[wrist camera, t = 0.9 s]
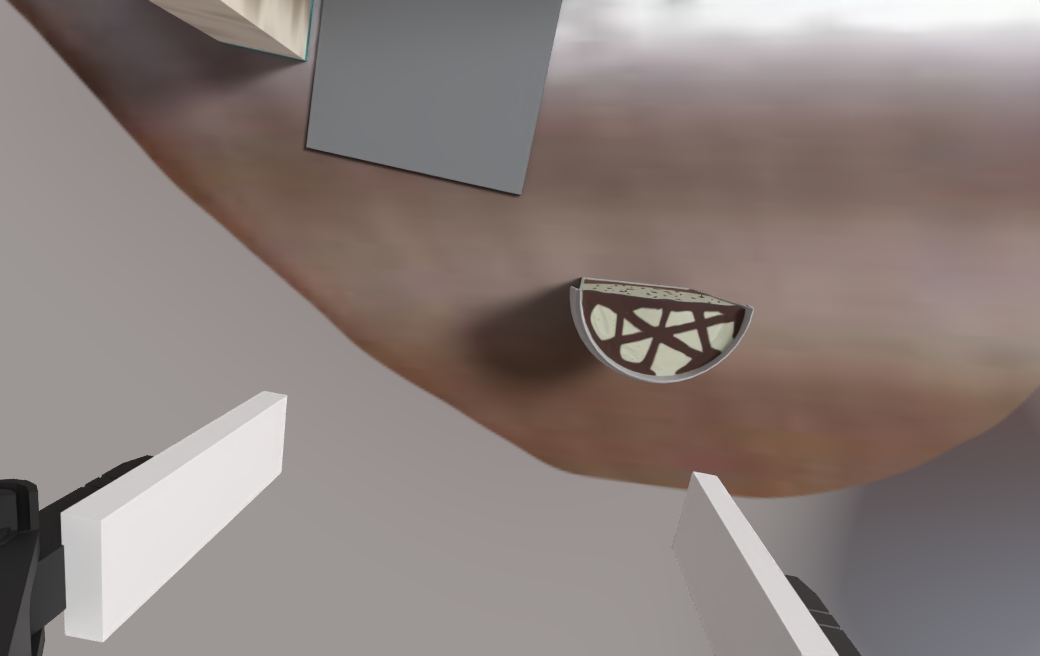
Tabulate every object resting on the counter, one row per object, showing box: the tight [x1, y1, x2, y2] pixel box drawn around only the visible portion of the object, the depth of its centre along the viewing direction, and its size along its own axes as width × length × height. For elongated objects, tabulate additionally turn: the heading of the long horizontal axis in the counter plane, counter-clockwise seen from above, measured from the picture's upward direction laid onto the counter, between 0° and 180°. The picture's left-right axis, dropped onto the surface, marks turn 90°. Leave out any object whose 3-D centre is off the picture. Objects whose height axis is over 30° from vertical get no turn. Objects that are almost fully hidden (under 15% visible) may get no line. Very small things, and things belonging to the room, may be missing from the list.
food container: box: [570, 277, 754, 383], centre depth 37 cm, size 12×6×10 cm, turn 84°
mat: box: [306, 0, 562, 195], centre depth 38 cm, size 20×18×1 cm
